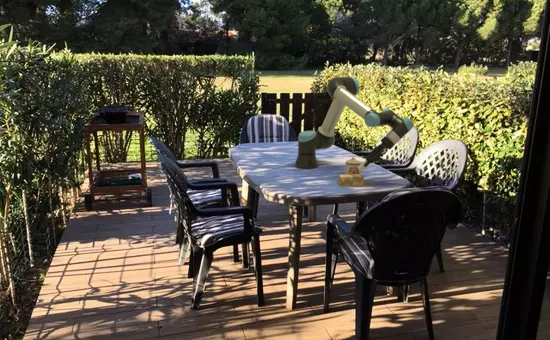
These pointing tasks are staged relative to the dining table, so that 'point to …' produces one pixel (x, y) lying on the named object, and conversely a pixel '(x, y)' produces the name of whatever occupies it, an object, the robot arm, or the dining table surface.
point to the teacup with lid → (352, 167)
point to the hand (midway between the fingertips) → (359, 169)
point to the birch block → (351, 179)
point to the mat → (365, 184)
